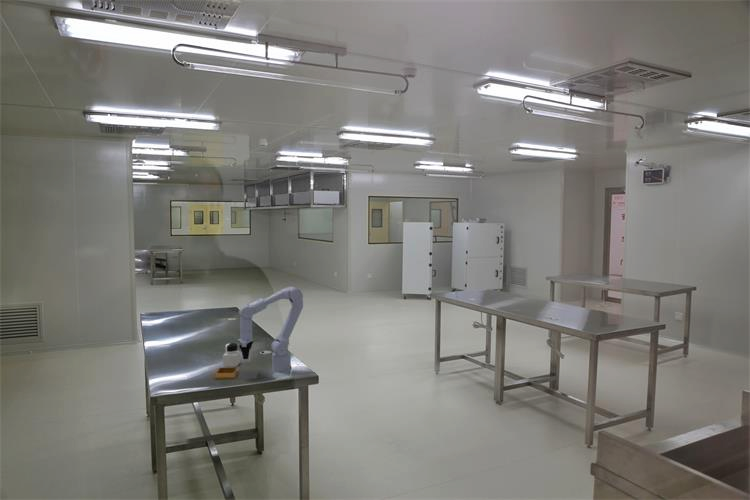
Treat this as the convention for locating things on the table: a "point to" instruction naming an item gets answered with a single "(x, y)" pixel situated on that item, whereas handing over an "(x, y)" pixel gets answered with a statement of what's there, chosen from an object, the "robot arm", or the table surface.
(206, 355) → the table surface
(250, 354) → the canister
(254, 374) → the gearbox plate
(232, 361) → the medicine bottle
